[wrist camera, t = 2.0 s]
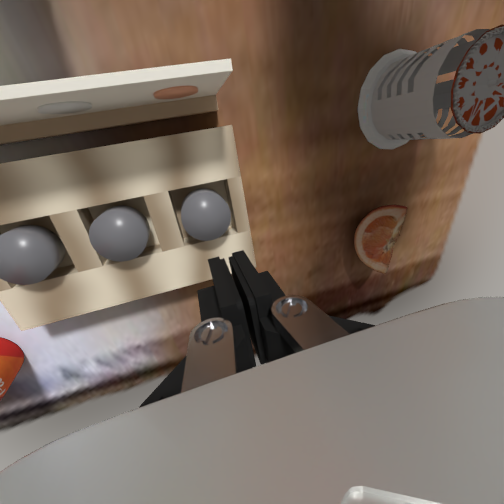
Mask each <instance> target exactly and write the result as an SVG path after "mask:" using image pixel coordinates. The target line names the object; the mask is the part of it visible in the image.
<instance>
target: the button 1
mask: <svg viewBox="0 0 504 504" xmlns="http://www.w3.org/2000/svg"><path fill="white" fill-rule="evenodd" d="M64 257H65V247H64V244H63V242H62V241H61V239H60V238H59V237H58V236H57V235H56V234H55V233H54V232H52V231H51V230H49V229H47V228H44V227H42V226H38V225H21V226H18V227H16V228H13V229H11V230H9V231H7V232H5V233H3V234H1V235H0V279H2V280H4V281H7V282H9V283H13V284H18V285H30V284H35V283H38V282H40V281H42V280H44V279H45V278H46V277H47V276H49V275H50V274H51V273H52V272H53V271H54V270H55V269H56V268H57V267H58V266H59V265H60V264H61V263H62V261H63V259H64Z"/></svg>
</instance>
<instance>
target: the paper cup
mask: <svg viewBox="0 0 504 504" xmlns="http://www.w3.org/2000/svg"><path fill="white" fill-rule="evenodd" d="M23 362H24V354H23V351H22V350H21V348H20V347H19V346H18V345H17V344H15V343H14V342H12V341H10V340H7V339H5V338H1V337H0V401H1V400H2V398H3V396H4V395H5V393H6V392H7V390H8V388H9V387H10V385H11V383H12V382H13V380H14V378H15V377H16V375H17V373H18V372H19V370H20V368H21V366H22V364H23Z"/></svg>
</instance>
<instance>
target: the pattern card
mask: <svg viewBox="0 0 504 504" xmlns="http://www.w3.org/2000/svg"><path fill="white" fill-rule="evenodd" d="M232 71H233V70H232V64H231V59H223V60H214V61H206V62H198V63H189V64H181V65H172V66H164V67H156V68H147V69H139V70H130V71H122V72H114V73H105V74H97V75H88V76H80V77H72V78H63V79H55V80H46V81H38V82H30V83H21V84H13V85H4V86H0V145H3V144H9V143H16V142H22V141H29V140H35V139H41V138H48V137H54V136H61V135H67V134H74V133H80V132H87V131H93V130H100V129H106V128H112V127H119V126H125V125H132V124H138V123H145V122H151V121H158V120H164V119H171V118H177V117H183V116H190V115H196V114H203V113H209V112H216V111H218V105H217V99H216V94H217V92H218V91H219V89H220V88H221V86H222V85H223V83H224V82H225V81H226V79H227V78H228V76H229V75H230V73H231V72H232Z"/></svg>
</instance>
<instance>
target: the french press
mask: <svg viewBox="0 0 504 504" xmlns="http://www.w3.org/2000/svg"><path fill="white" fill-rule="evenodd" d="M464 35H471V36H473V37H474V39H475V40H473V41H470V42H467V41H466V40H465V38H462V37H463V36H464ZM443 43H445V42H443ZM443 43H441V44H438V45H435V46H433V48H432V47H431V49H430V48H429V49H426V50H423V51H420V52H418V53H416V52H415V51H411V50H404V49H398V50H396V51H393V52H391V53H388V54H386V55H384V56H383V57H382V58H381V59H380V60H379V61H378V62H377V63H376V64H375V65H374V66H373V67H372V68H371V69H370V71H369V73H368V75H367V77H366V79H365V81H364V83H363V85H362V88H361V91H360V97H359V103H358V116H359V123H360V128H361V130H362V132H363V134H364V135H365V137H366V139H367V140H368V142H370V143H371V144H373V145H374V146H376V147H378V148H379V149H395V148H397V147H399V146H401V145H403V144H406V143H407V142H408V141H409V140H415V139H446V138H463V137H465V136H468V135H470V134H473V133H482V132H485V131H487V130H489V129H491V128H493V127H495V126H496V125H497V124H498V123H499V122H500V121H501V120H502V119H503V118H504V25H500V26H498V27H495V28H493V29H491V30H490V29H476V30H474V31H471V32H468V33H465V34H463V35H461V36H459V37H456V38H453V39H451V40H448V42H447V41H446V43H445V44H443ZM456 43H458V44H459V46H456V47H454V46H455V45H456ZM437 47H441V48H439V49H438V50H437V49H436V48H437ZM453 47H454V48H453ZM424 52H427V53H426V54H425V53H424ZM429 53H432V54H433V55H432V56H427V55H428V54H429ZM453 71H456V74H455V77H454V80H450V81H446V82H442V83H438V84H436V79H437V76H438V75H442V74H446V73H449V72H453ZM449 107H451V111H452V113H453V117H452V118H451V120H450V122H449V124H448V126H447V127H446V128H444V129H443V130H441V129H440V128H441V127H442V126H443V124H444V122H445V120H446V118H447V116H448V112H449ZM442 108H443V109H442ZM438 109H442V117H441V119H440V121H439V123H438V124H437V122H436V118H437V114H438ZM455 123H457V124H458V125H459V126H458V127H457V128H455V129H454V130H453V131H451V132H450V133H449V134H445V132H446V131H448V130H449V129H450V128H452V127H453V126H454V125H455ZM461 129H464V130H465V131H464V132H462V133H459V134H456V135H452V134H455V133H457V132H458V131H459V130H461ZM422 134H424V136H421V135H422ZM448 135H452V136H448ZM420 136H421V137H420ZM425 136H426V137H427V138H422V137H425ZM411 138H413V139H411Z"/></svg>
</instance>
